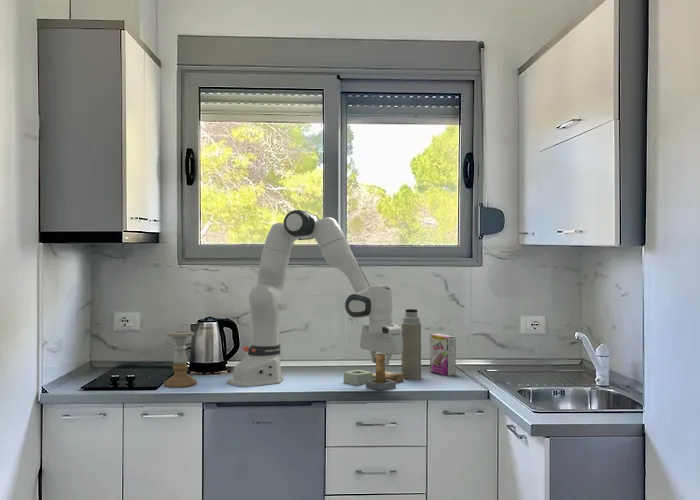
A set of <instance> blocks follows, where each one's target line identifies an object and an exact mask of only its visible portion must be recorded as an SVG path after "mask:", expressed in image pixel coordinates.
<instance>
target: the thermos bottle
mask: <svg viewBox="0 0 700 500" xmlns="http://www.w3.org/2000/svg"><path fill="white" fill-rule="evenodd" d="M420 320H421V319H420V317H419V316H418V309H414V308H408V309H405V315H404V317H403V318H402V321H403V322H401V328H402V333H401V336H402V339H403V351H402V353H401V373H402V374H404V380H420V379H422V323H421V322H420Z"/></svg>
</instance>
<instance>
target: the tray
mask: <svg viewBox="0 0 700 500" xmlns="http://www.w3.org/2000/svg"><path fill="white" fill-rule="evenodd" d="M396 385H397V383H396V381H391V380H387V379H385V383H381V384H380V383H376V379H374V380H369V381H366V384H365V388H366V389H370V390H373V391H378V392H383V391H387V390H392V389H396V387H397V386H396Z"/></svg>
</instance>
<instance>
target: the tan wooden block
mask: <svg viewBox="0 0 700 500" xmlns="http://www.w3.org/2000/svg"><path fill="white" fill-rule="evenodd" d="M389 374H395V373H394V372H389V371H385V375H389ZM374 379H376V372H374V373H373V372H372V380H374Z"/></svg>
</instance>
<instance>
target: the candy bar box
mask: <svg viewBox="0 0 700 500" xmlns="http://www.w3.org/2000/svg"><path fill="white" fill-rule="evenodd" d="M429 336H430V337H429V340H430V341H429V342H430V344H429V345H430V346H429V351H430V352H429V353H430V354H429V355H430V357H429V358H430V359H429V360H430V361H429V362H430V363H429V367H430V368H429V371H430V373H433V374H438V375H441V376H446V377H452V376H456V375H457V371H456V369H457V368H456V367H457V364H456V363H457V362H456V359H457V358H456V356H457V355H456V352H457V351H456V348H457V347H456V344H457V343H456V339H457V338H456V336H454V335H448V334H445V333H444V334H443V333H432V334H429Z"/></svg>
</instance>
